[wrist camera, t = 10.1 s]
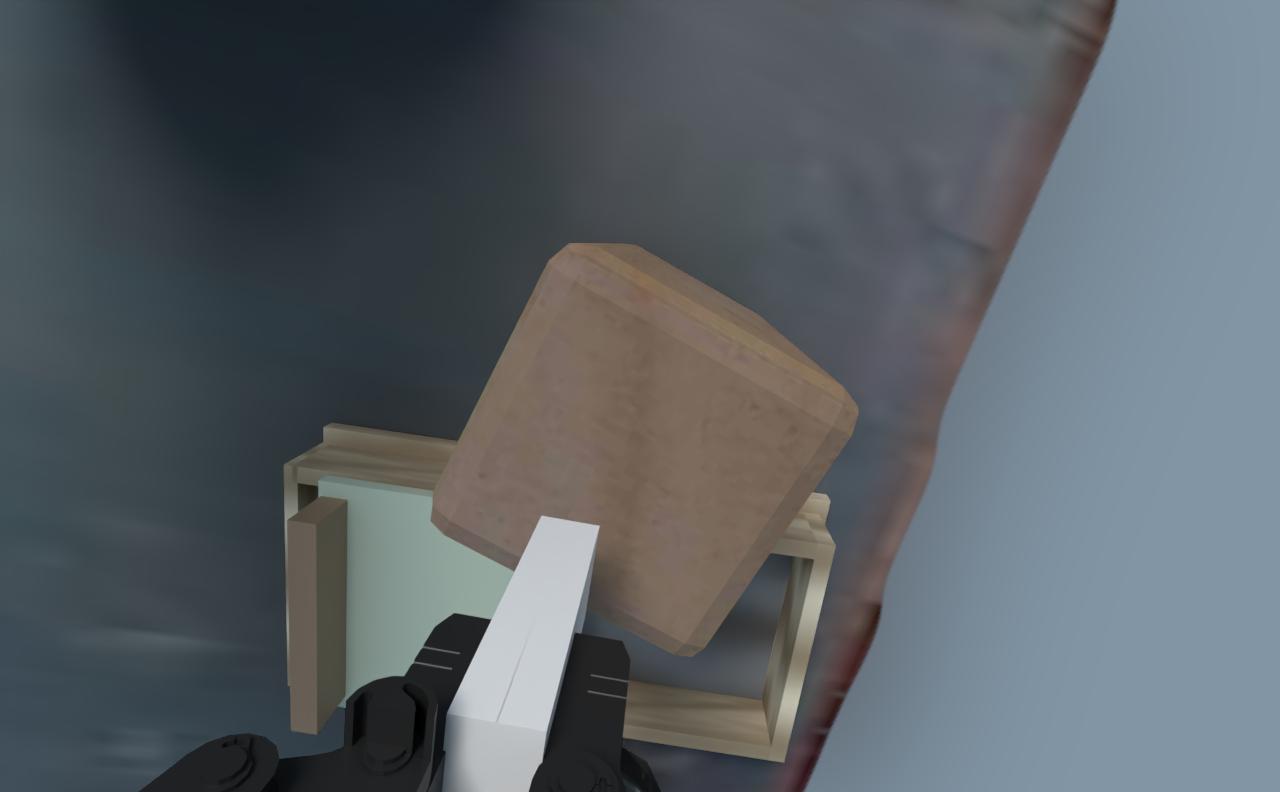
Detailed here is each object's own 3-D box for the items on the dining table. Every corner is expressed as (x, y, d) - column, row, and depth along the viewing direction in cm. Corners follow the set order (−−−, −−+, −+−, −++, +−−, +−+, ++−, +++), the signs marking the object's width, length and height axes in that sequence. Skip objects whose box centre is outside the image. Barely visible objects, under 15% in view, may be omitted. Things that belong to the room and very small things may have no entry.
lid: (326, 474, 34) (283, 503, 30) (586, 513, 33) (575, 546, 30) (326, 694, 37) (288, 743, 34) (560, 730, 37) (547, 784, 33)
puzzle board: (332, 422, 39) (283, 448, 34) (826, 494, 38) (848, 531, 33) (331, 647, 43) (287, 698, 38) (775, 715, 42) (788, 776, 37)
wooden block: (770, 321, 36) (884, 413, 16) (685, 458, 38) (696, 681, 19) (622, 236, 35) (557, 226, 15) (545, 381, 37) (406, 531, 18)
